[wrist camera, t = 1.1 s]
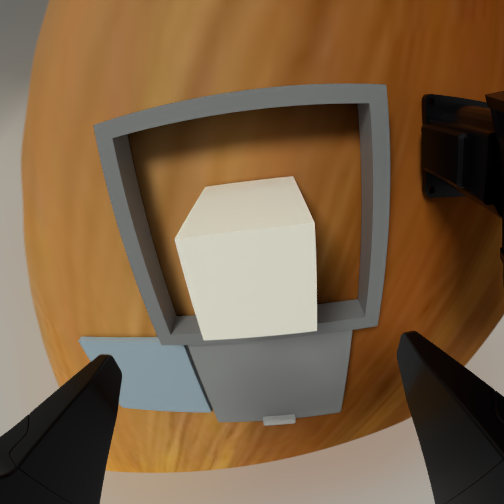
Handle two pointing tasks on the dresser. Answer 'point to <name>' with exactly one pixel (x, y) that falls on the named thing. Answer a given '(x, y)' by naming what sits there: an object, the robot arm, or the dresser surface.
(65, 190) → the dresser surface
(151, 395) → the mat
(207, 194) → the block
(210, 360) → the grey open frame
